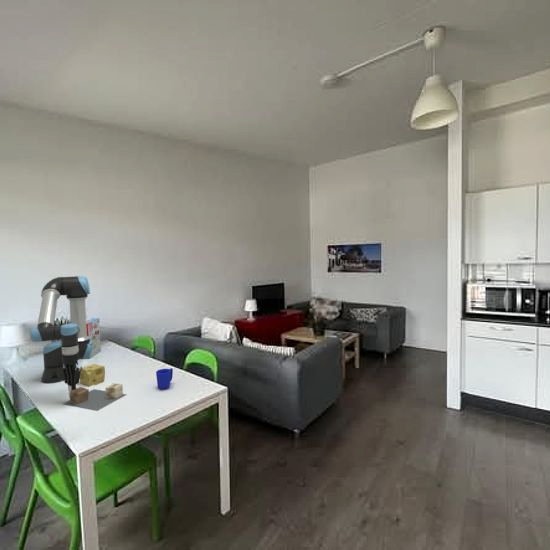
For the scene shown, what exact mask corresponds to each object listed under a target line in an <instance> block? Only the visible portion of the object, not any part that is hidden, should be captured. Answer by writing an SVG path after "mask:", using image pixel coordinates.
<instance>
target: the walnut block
mask: <svg viewBox="0 0 550 550" xmlns="http://www.w3.org/2000/svg"><path fill="white" fill-rule="evenodd" d="M89 391H90V389H89V388H85V387H83V386H78V387H76V389H74V390H72V391H70V398H69V401H70V402H71V403H74V404H77V405H79V404H81V403H83V402H85V401H87V400H88V394H89Z"/></svg>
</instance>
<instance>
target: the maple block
mask: <svg viewBox="0 0 550 550" xmlns="http://www.w3.org/2000/svg"><path fill="white" fill-rule="evenodd" d="M104 390H105V391H106V398H107V399H117V398H118V397H120V396H121V395H123V394H124V393H123V392H124V389H123V383H114V382H113V383H110V384H109V385H108V386H106V387H105V389H104Z"/></svg>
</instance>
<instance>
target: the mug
mask: <svg viewBox="0 0 550 550" xmlns="http://www.w3.org/2000/svg"><path fill="white" fill-rule="evenodd" d="M173 371H174V369H173V368H172V367H171V368H162V369H158V370H156V371H155V376H156V384H157V388H158V389H159V390H166V389H169V388H170V386H171V381H172V380H173V375H174V374H173Z"/></svg>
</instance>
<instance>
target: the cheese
mask: <svg viewBox="0 0 550 550" xmlns="http://www.w3.org/2000/svg"><path fill="white" fill-rule="evenodd" d="M105 378H106V368H105V365H99V364H97V363H94V364H90V365H87V366H82V369H81V373H80V380H79V384H80V385H85V386H87V387H92V386H96V385H99V384H101V383H105V380H106V379H105Z"/></svg>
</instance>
